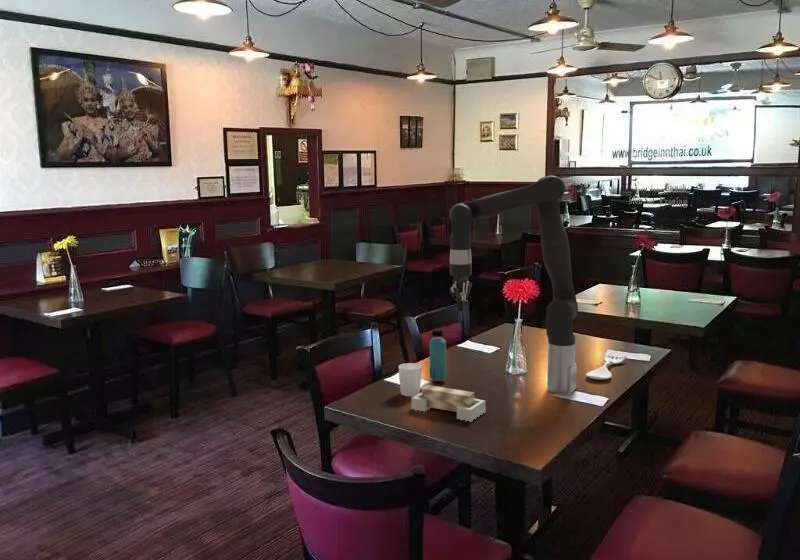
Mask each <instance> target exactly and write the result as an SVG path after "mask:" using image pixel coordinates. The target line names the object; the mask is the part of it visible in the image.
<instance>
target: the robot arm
mask: <svg viewBox="0 0 800 560" xmlns="http://www.w3.org/2000/svg"><path fill="white" fill-rule="evenodd" d="M565 191H566V185H565V182H564V180H562V179H561V177H559V176H555V175H546V176H543V177H540V178H538V180H536V182H534V183H532V184H529V185H526V186H523V187H520V188H517V189H516V188H515V189H512V190H507V191H502V192H499V193H492V194H491V195H487V196H486V195H485V196H483V197H479V198H477V199H473V200H468V201H462V202H460V203H456V204H454V205H453V206H451V207H450V209H449V213H448V215H449V216H448V217H449V219H450V221H451V234H450V237H449V238H450V239H449V240H450V241H449V242H450V243H449V245H450V246H449V247H450V250H449V251H450V252H449V275H450V276H451V277H452V285H451V286H450V287H448V290H449V293H450V294H451V297H452V299H453V300H455V301H456V311H457V312H461V313H462V312H464V311H466V310H465V309H466V308H465V307H466V305H465V304H466V303H465V301H466V300H467V298H469V295H470V293H471V290H472V286H473V282H470V281H469V279H470V278H469V277H471V276H472V273H473V272H472V268H473V267H472V263H473V262H472V249H471V248H472V243H471V242H472V241H471V239H472V238H471V232H472V231H471V230H472V222H473V221H474V220H477V219H485V218H486V219H487V218H490V217H494V216H498V215H501V214H503V213H508V212H511V211H513V210H516V209H519V208H523V207H527V206H531V205H536V208H537V211H538V217H539V229H540V230H539V231H540V233H539V234H540V241H541V245H540V246H541V250H542V251H541V252H542V260H543V263H544V267H545V269H546V272H547V274H548V276H549V279H550V282H551V285H552V286H551V287H552V301H551V302H549V303H548V305H547V307H546V310H545V311H546V312H545V324H546V325H545V326H546V327H545V329H546V337H547V373H546V374H547V382H546V384H547V386H546V387H547V388H546V389H547V391H549V392H550V393H554V394H558V393H569V394H568V395H570V393H571V392H572V393H574V392H575V391H576V390H577V363H576V360H575V359H576V358H575V357H576V356H575V354H576V335H575V334H574V331H573V330H574V326H573V325H574V324H573V321H574V319H575V318H576V317H577V315H578V312H579V307H578V300H577V297H576V292H575V288H574V283H573V271H572V263H571V249H570V242H569V237H568V233H567V231H566V228H565V226H564V222H563V220H562V217H561V209H560V200H561V199H562V197H564V195H565ZM575 389H576V390H575ZM574 390H575V391H574ZM572 393H571V394H572Z"/></svg>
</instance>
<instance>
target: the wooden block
mask: <svg viewBox="0 0 800 560" xmlns="http://www.w3.org/2000/svg"><path fill="white" fill-rule="evenodd" d="M421 392H422V398H424V399H427V407H431V409H438V410H442V411H443V410H444V411H450V412H455V413H457V407H458V406H463V407H467V408H470V407H472V406H474V398H475V392H474V391H468V390H463V389H462V390H461V389H454V388H448V387H443V386H435V385H430V384H427V385H425V386H424V387H422V388H421Z"/></svg>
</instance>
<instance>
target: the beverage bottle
mask: <svg viewBox="0 0 800 560" xmlns="http://www.w3.org/2000/svg"><path fill="white" fill-rule="evenodd" d="M431 336H432V338H431V339H430V340H429V341H428V342H429V378H430V379H431V380H432V381H438V382H439V381H444V380H446V379H447V376H448V369H447V364H448V362H447V341H446V340H445V338H443V336H444V330H443V329H440V328H434V329H432V330H431Z"/></svg>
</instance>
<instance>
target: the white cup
mask: <svg viewBox="0 0 800 560" xmlns="http://www.w3.org/2000/svg"><path fill="white" fill-rule="evenodd" d="M421 376H422V365H421V364H419V363H415V362H408V363H402V364H399V365H398V377H399V387H400V394H401V396H404V397H414V396H416V395H418V394H420V393H421V382H422V381H421V380H422V379H421V378H422V377H421Z"/></svg>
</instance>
